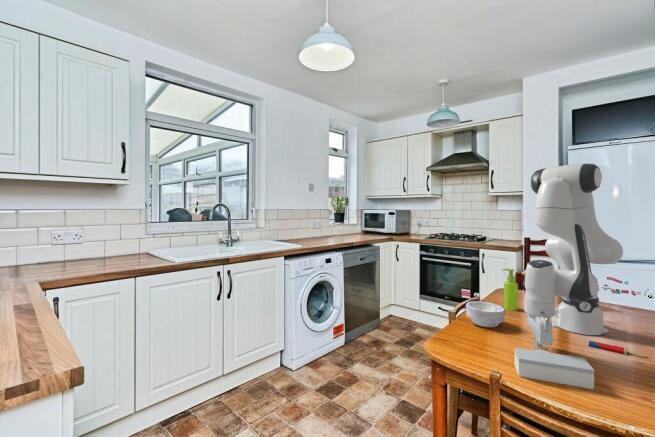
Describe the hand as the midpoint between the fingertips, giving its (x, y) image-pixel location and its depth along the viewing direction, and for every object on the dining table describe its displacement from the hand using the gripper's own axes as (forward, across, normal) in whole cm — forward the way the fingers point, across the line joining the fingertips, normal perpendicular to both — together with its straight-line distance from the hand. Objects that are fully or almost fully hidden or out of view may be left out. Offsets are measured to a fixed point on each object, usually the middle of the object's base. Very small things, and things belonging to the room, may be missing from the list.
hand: (538, 347), depth 109 cm
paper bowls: (+2, +25, +15) cm, 29 cm away
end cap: (+2, -16, 0) cm, 16 cm away
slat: (+2, -9, 0) cm, 10 cm away
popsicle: (+3, +13, -26) cm, 29 cm away
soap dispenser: (+2, +53, +2) cm, 53 cm away
